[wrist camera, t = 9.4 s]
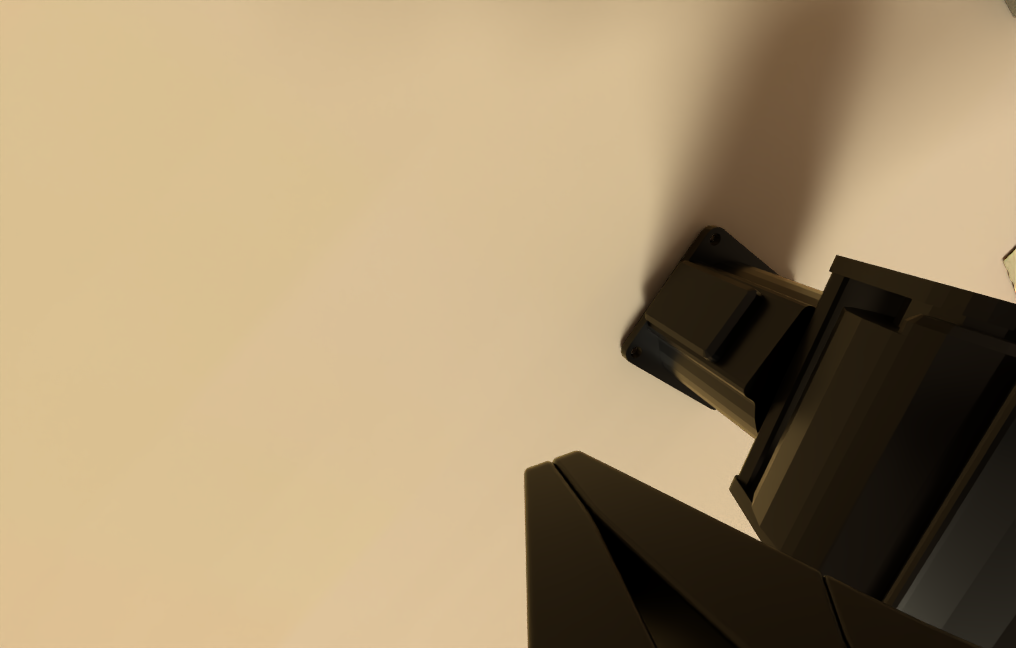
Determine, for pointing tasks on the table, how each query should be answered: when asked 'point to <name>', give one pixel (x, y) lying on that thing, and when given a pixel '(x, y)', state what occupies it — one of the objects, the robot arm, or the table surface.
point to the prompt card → (1012, 6)
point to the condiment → (1011, 267)
